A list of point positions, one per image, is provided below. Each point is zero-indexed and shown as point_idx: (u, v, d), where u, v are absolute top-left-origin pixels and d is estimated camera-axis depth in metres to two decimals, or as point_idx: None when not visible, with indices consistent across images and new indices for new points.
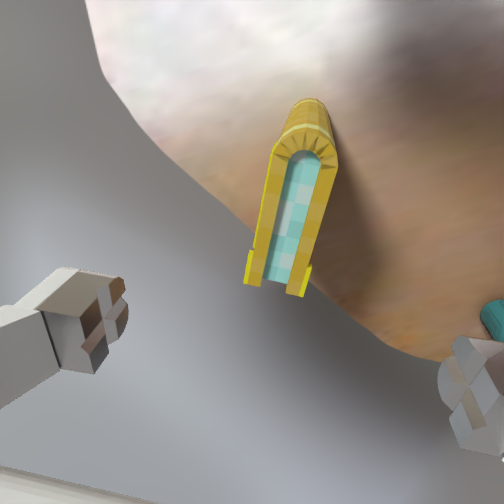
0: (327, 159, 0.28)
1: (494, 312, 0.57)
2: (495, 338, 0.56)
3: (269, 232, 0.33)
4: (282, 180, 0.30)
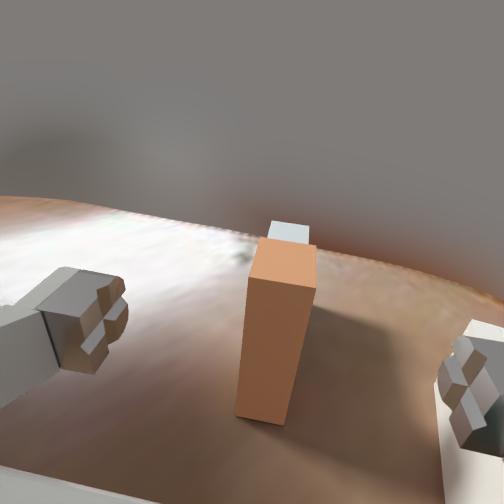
0: None
1: None
2: None
3: None
4: None
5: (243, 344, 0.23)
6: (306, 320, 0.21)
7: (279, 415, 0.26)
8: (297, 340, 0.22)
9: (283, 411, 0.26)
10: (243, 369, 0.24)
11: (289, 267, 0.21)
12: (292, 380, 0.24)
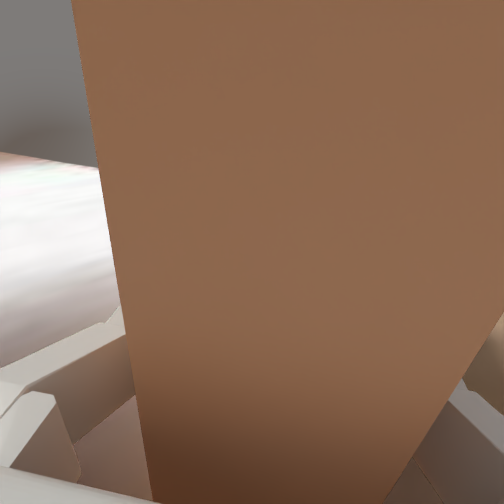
0: None
1: None
2: None
3: None
4: None
5: (144, 410, 0.05)
6: (499, 291, 0.03)
7: None
8: (406, 405, 0.04)
9: None
10: (164, 490, 0.06)
11: None
12: None
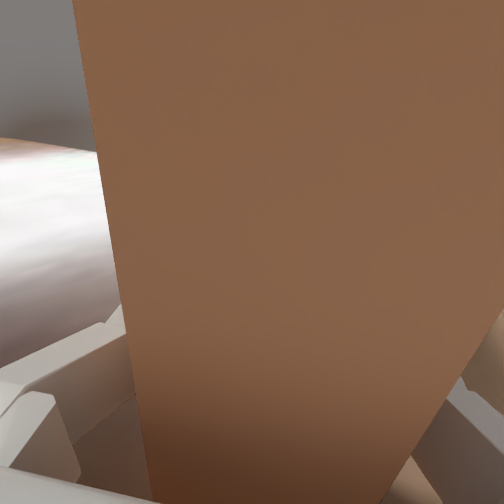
0: None
1: None
2: None
3: None
4: None
5: (144, 408, 0.05)
6: (497, 291, 0.03)
7: None
8: (404, 404, 0.04)
9: None
10: (163, 487, 0.06)
11: None
12: None
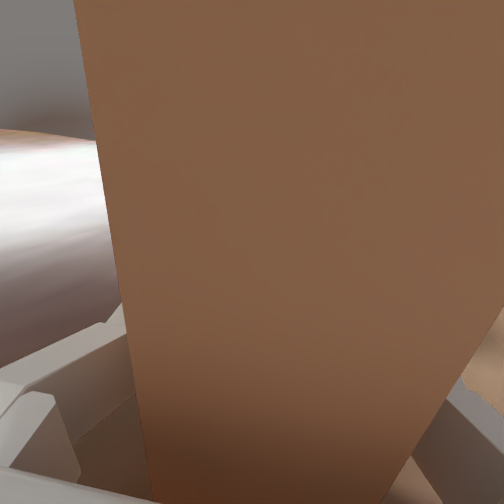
0: None
1: None
2: None
3: None
4: None
5: (144, 408, 0.05)
6: (496, 290, 0.03)
7: None
8: (404, 403, 0.04)
9: None
10: (163, 487, 0.06)
11: None
12: None
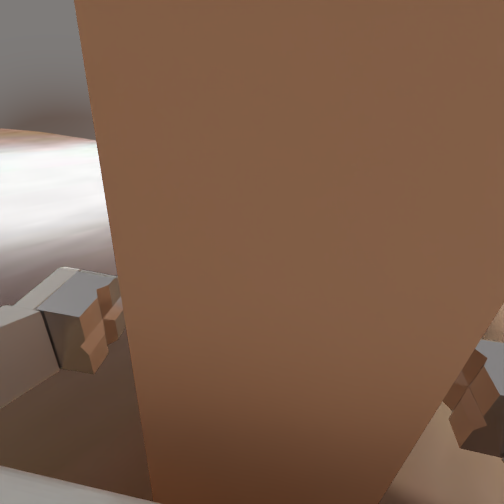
0: None
1: None
2: None
3: None
4: None
5: (144, 407, 0.05)
6: (495, 288, 0.03)
7: None
8: (404, 402, 0.04)
9: None
10: (164, 486, 0.06)
11: None
12: None
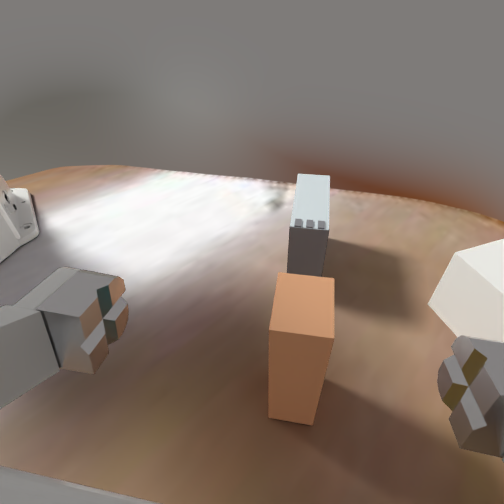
0: None
1: None
2: None
3: None
4: None
5: (269, 373, 0.25)
6: (326, 359, 0.22)
7: (307, 419, 0.29)
8: (319, 372, 0.23)
9: (311, 416, 0.28)
10: (271, 389, 0.26)
11: (308, 313, 0.22)
12: (317, 398, 0.26)
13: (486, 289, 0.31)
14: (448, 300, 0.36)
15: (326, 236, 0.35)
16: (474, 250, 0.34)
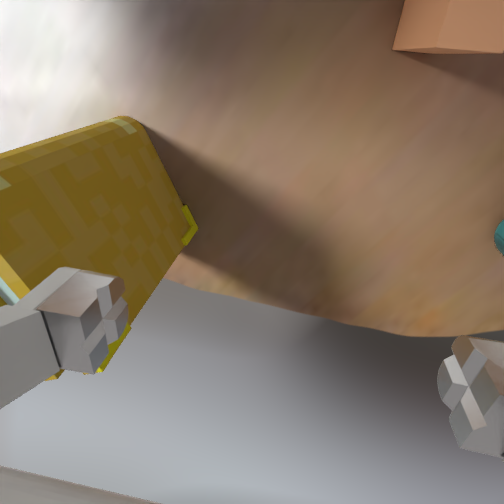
0: None
1: None
2: None
3: None
4: None
5: (414, 48, 0.26)
6: (482, 53, 0.23)
7: None
8: None
9: (436, 53, 0.31)
10: (408, 49, 0.28)
11: (485, 19, 0.20)
12: (452, 53, 0.28)
13: None
14: None
15: None
16: None
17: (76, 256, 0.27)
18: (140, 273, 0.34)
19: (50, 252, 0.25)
